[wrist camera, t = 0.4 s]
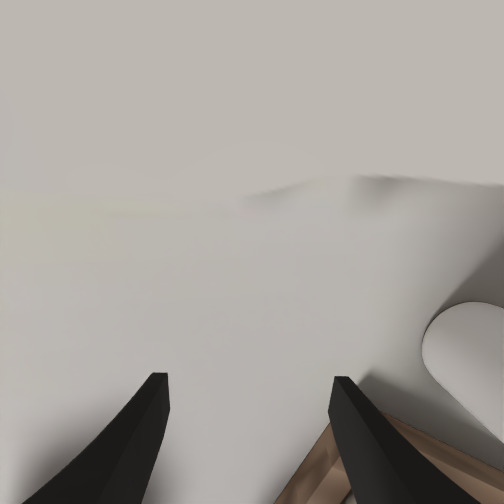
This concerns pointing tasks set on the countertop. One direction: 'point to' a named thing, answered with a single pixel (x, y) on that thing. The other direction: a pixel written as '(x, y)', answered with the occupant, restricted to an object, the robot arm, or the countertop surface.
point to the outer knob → (349, 498)
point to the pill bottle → (470, 359)
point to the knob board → (438, 453)
